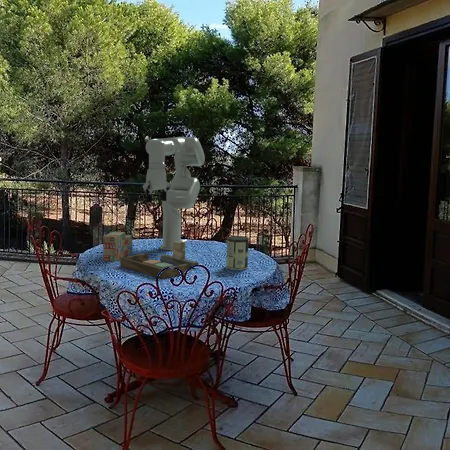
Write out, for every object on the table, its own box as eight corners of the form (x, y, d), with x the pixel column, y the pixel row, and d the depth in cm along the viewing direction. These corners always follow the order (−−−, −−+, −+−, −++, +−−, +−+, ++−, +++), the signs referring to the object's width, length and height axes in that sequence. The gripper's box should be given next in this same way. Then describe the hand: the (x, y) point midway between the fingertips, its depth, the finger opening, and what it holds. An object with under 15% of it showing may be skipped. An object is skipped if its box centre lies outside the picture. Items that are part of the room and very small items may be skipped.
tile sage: (164, 268, 227) (164, 262, 227) (172, 271, 223) (173, 265, 222) (153, 270, 223) (153, 264, 222) (162, 273, 219) (162, 266, 218)
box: (145, 261, 238) (146, 253, 238) (188, 272, 220) (188, 264, 220) (120, 266, 227) (120, 257, 226) (163, 279, 209) (163, 269, 208)
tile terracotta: (151, 265, 232) (151, 259, 231) (161, 268, 228) (161, 261, 228) (142, 268, 227) (142, 261, 226) (152, 270, 224) (152, 263, 223)
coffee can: (237, 263, 241) (238, 235, 239) (252, 268, 233) (253, 238, 231) (221, 266, 234) (222, 237, 232) (236, 271, 226) (237, 240, 224)
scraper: (165, 260, 244) (166, 237, 242) (198, 268, 230) (199, 244, 228) (159, 261, 241) (160, 238, 239) (192, 269, 227) (193, 246, 225)
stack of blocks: (121, 252, 257) (121, 228, 255) (132, 253, 256) (132, 229, 254) (103, 261, 237) (103, 235, 235) (115, 262, 235) (115, 236, 233)
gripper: (164, 165, 250) (163, 199, 253) (138, 166, 237) (138, 202, 240) (175, 166, 246) (174, 200, 249) (149, 167, 232) (148, 204, 235)
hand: (156, 201), depth 244 cm, fingers open, 9 cm apart
